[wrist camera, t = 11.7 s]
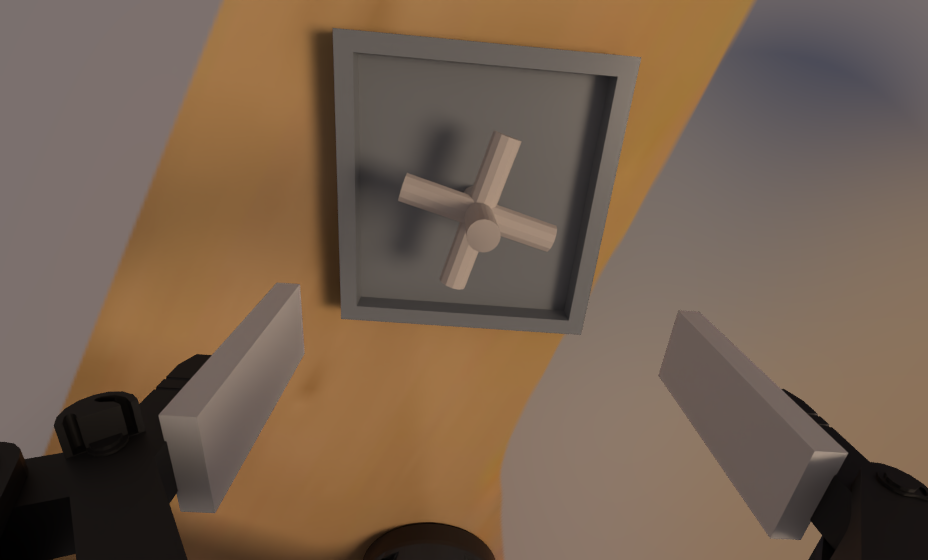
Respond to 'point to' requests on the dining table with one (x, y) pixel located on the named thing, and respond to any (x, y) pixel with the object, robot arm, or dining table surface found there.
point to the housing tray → (473, 174)
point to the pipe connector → (478, 211)
